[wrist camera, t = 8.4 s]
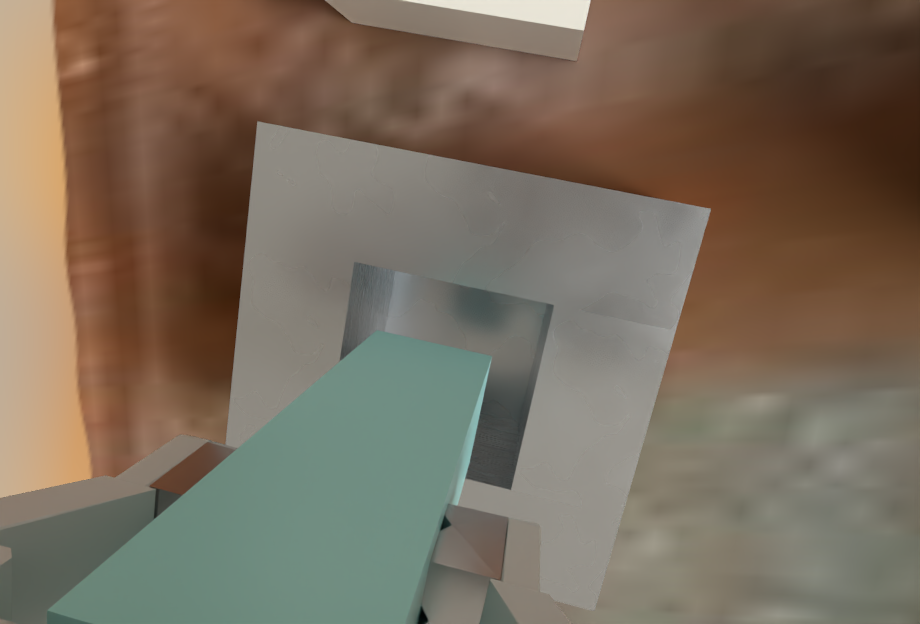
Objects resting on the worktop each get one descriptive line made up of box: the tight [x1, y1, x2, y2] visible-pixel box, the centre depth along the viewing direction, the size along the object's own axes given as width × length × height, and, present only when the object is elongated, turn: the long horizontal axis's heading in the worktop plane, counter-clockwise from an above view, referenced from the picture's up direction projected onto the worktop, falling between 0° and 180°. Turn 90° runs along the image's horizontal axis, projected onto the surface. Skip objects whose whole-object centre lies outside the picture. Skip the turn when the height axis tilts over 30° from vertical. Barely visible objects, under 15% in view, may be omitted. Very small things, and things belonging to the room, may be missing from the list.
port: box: [226, 121, 711, 611], centre depth 19 cm, size 12×12×6 cm
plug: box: [47, 330, 492, 624], centre depth 10 cm, size 3×3×10 cm
